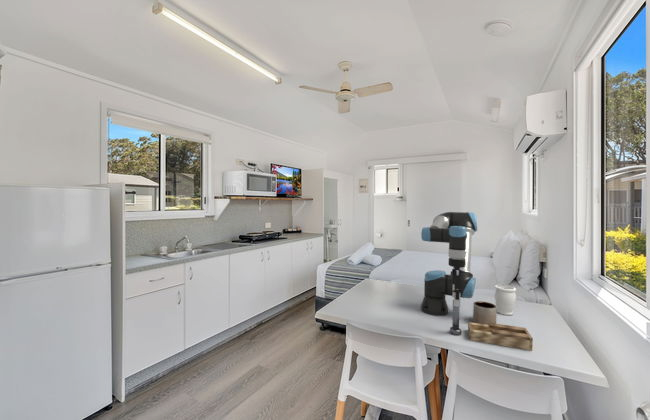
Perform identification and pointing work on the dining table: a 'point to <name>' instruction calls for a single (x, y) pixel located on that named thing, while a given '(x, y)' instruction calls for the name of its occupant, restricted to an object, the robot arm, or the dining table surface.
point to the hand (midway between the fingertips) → (456, 301)
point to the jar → (505, 299)
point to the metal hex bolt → (455, 321)
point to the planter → (484, 312)
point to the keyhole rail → (499, 340)
